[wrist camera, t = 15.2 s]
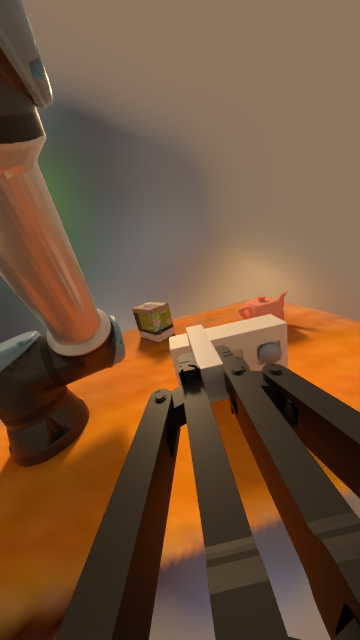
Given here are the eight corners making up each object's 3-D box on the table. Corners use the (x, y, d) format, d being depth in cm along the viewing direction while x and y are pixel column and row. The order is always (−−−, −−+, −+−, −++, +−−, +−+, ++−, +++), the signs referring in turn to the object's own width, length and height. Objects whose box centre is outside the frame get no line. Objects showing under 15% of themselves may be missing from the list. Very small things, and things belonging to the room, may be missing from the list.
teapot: (250, 339, 62) (247, 306, 58) (233, 327, 73) (230, 299, 69) (300, 323, 65) (300, 291, 61) (276, 315, 76) (275, 287, 72)
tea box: (176, 333, 80) (168, 302, 75) (158, 343, 74) (149, 310, 69) (156, 328, 91) (148, 300, 86) (140, 337, 85) (130, 307, 80)
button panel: (184, 407, 40) (169, 349, 35) (182, 389, 46) (169, 337, 41) (287, 383, 41) (287, 322, 36) (272, 367, 46) (270, 314, 41)
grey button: (228, 383, 35) (226, 364, 33) (225, 377, 37) (223, 359, 35) (250, 378, 35) (248, 359, 34) (246, 373, 37) (244, 354, 35)
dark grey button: (261, 366, 37) (260, 348, 36) (257, 362, 39) (256, 344, 38) (282, 361, 37) (281, 343, 36) (277, 357, 39) (276, 339, 38)
